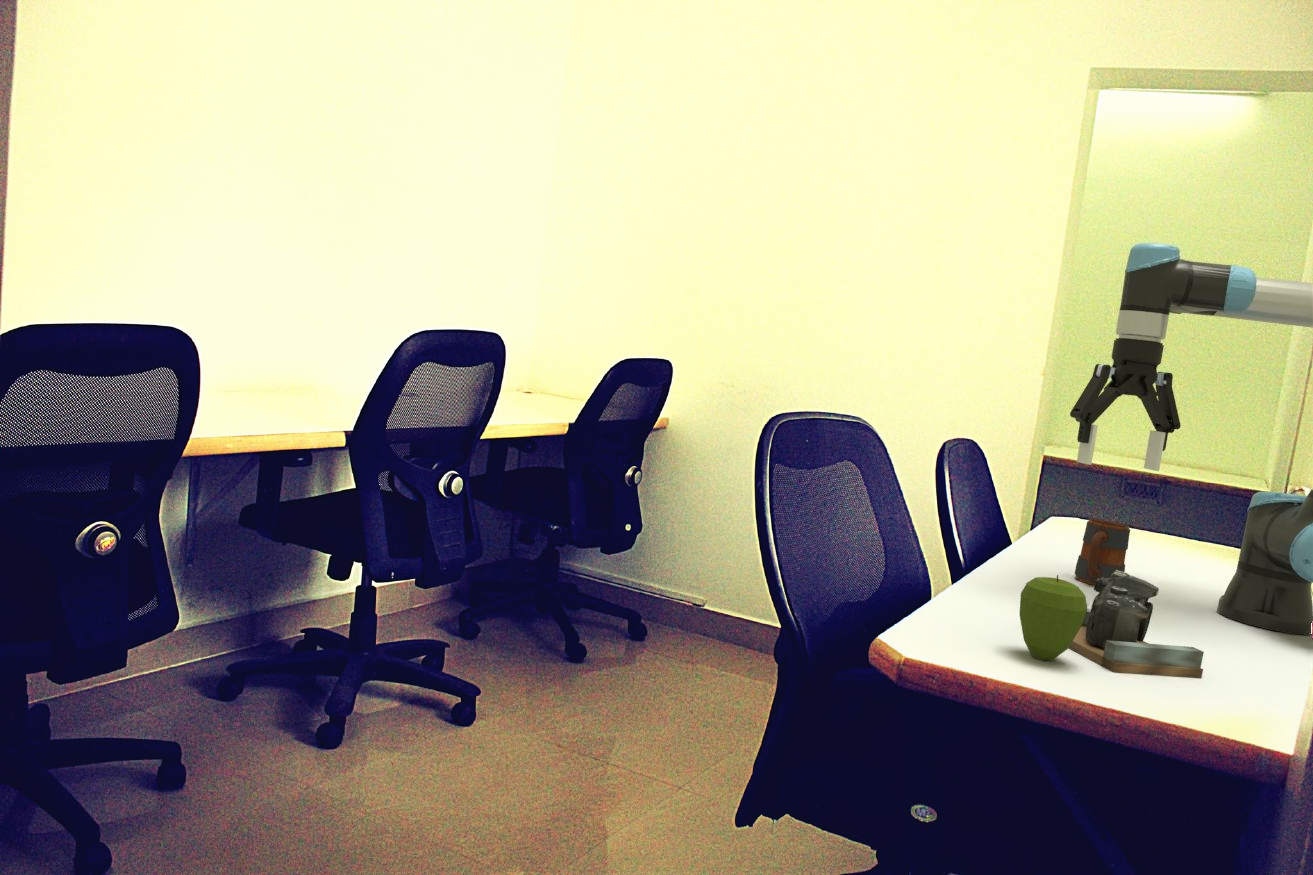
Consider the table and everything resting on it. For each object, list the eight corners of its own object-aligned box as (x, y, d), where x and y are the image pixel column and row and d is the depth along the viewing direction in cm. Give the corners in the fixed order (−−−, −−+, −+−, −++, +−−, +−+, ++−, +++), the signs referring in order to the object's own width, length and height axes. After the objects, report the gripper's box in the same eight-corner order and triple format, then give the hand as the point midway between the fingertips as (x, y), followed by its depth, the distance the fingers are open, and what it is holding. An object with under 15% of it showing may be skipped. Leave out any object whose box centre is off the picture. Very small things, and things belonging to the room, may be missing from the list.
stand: (1106, 631, 163) (1110, 609, 162) (1201, 677, 144) (1206, 652, 143) (1027, 625, 159) (1031, 602, 159) (1113, 671, 140) (1118, 646, 140)
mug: (1062, 581, 199) (1073, 520, 198) (1081, 575, 209) (1092, 517, 207) (1109, 593, 194) (1121, 531, 193) (1127, 586, 203) (1138, 527, 202)
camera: (1164, 662, 144) (1178, 591, 143) (1088, 648, 146) (1102, 578, 145) (1135, 635, 157) (1147, 570, 156) (1066, 623, 159) (1078, 559, 158)
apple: (1077, 674, 136) (1093, 587, 135) (1009, 658, 139) (1025, 573, 138) (1075, 657, 145) (1091, 575, 143) (1011, 643, 147) (1026, 562, 146)
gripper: (1183, 346, 181) (1162, 468, 183) (1060, 329, 174) (1040, 457, 176) (1217, 348, 174) (1195, 475, 176) (1091, 331, 166) (1070, 464, 169)
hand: (1117, 466), depth 176 cm, fingers open, 13 cm apart
